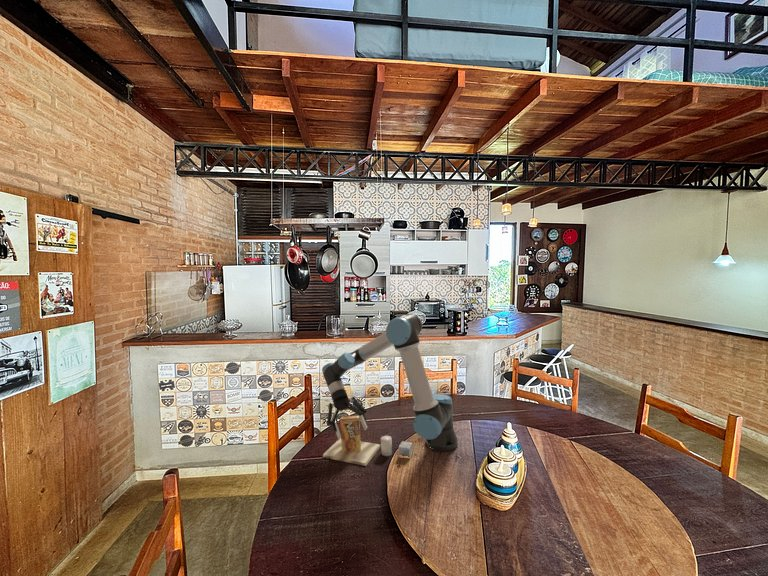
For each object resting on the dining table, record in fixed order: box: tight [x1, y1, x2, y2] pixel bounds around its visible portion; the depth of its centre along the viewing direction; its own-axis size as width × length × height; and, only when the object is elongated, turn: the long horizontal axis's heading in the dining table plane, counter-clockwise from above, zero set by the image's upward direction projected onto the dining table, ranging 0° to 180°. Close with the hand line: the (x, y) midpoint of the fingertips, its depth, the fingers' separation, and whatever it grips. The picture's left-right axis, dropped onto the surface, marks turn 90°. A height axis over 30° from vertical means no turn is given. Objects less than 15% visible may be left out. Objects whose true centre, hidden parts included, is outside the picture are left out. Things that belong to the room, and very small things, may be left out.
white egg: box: [380, 435, 393, 457], centre depth 149 cm, size 5×5×7 cm
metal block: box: [398, 440, 414, 457], centre depth 147 cm, size 5×5×5 cm
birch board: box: [322, 438, 381, 467], centre depth 152 cm, size 22×16×1 cm
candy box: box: [339, 415, 362, 452], centre depth 152 cm, size 9×4×15 cm, turn 94°
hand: (353, 433), depth 150 cm, fingers open, 13 cm apart
